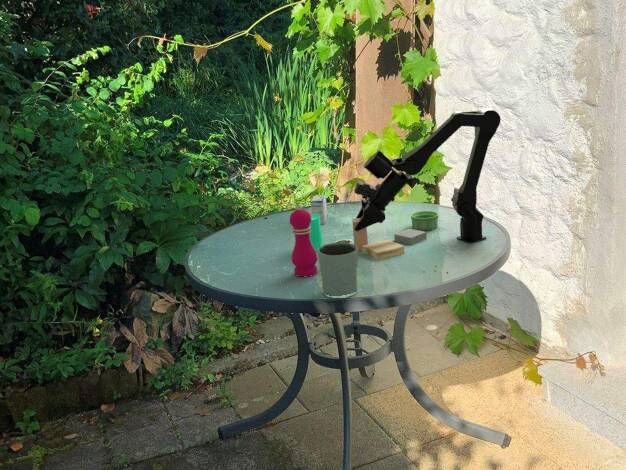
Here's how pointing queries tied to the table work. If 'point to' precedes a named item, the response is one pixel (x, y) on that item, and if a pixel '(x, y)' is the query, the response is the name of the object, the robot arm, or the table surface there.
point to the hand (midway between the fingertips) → (355, 227)
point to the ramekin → (424, 220)
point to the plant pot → (338, 268)
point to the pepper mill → (303, 243)
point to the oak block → (383, 249)
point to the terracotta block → (359, 235)
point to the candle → (315, 232)
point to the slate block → (410, 236)
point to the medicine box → (319, 207)
